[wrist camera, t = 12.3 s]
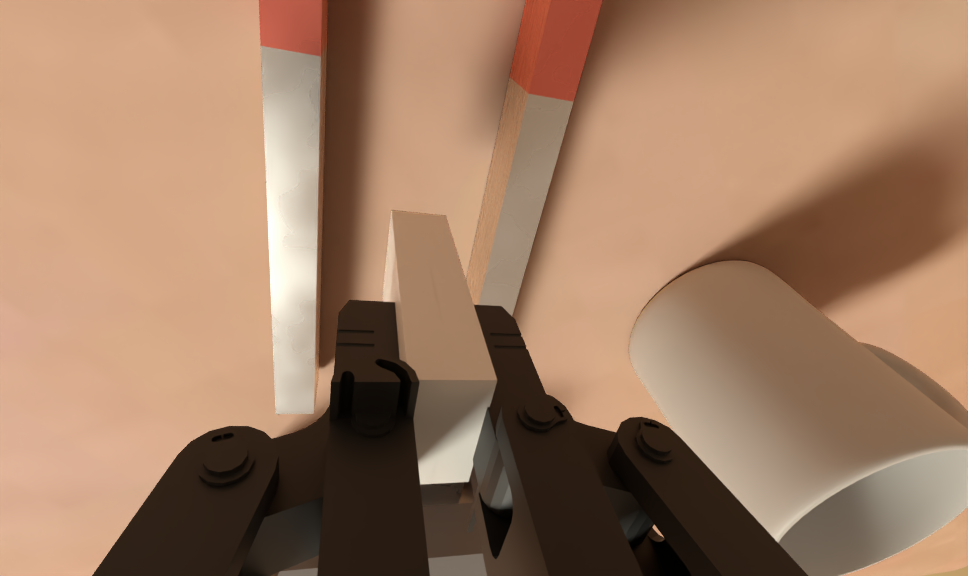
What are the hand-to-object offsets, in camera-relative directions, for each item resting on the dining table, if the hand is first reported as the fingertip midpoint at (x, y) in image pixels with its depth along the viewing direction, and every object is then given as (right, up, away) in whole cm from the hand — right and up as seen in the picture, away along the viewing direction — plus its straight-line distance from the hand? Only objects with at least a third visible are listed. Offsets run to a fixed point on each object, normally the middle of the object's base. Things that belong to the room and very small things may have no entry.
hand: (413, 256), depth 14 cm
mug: (+15, -3, +12) cm, 20 cm away
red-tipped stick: (-5, +2, +4) cm, 6 cm away
